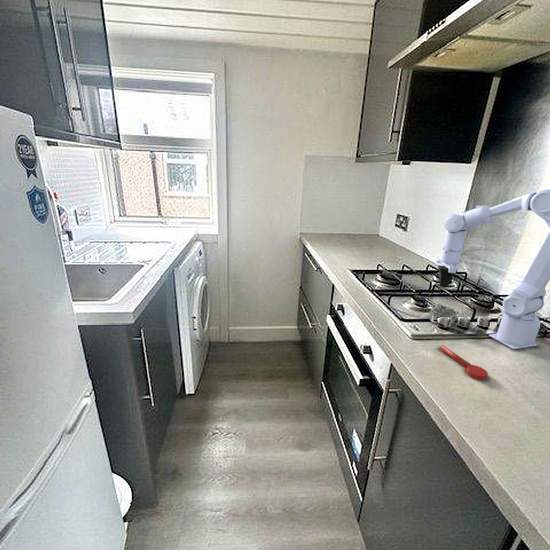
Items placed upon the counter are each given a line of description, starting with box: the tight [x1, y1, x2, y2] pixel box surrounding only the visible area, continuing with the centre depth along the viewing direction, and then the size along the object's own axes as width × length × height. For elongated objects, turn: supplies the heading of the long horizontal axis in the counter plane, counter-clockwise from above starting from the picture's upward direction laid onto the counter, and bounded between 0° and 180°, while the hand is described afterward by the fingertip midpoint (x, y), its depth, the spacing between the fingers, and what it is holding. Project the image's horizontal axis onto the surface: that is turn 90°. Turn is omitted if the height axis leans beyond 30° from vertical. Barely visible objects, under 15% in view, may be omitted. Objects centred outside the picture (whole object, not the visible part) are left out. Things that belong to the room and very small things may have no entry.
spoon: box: [439, 344, 489, 381], centre depth 79 cm, size 4×14×1 cm, turn 16°
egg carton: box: [429, 303, 460, 328], centre depth 102 cm, size 11×8×4 cm
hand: (443, 286), depth 109 cm, fingers closed
